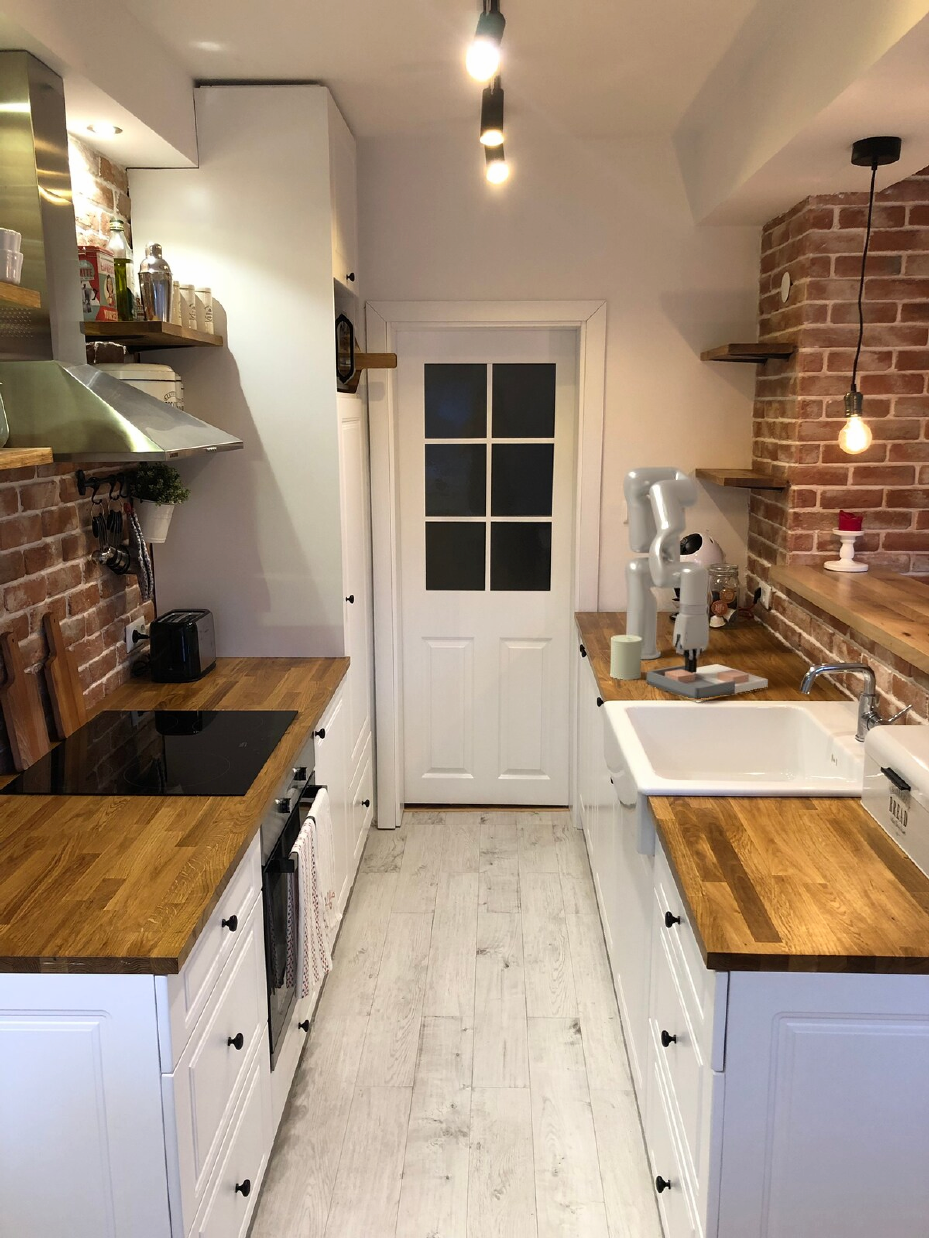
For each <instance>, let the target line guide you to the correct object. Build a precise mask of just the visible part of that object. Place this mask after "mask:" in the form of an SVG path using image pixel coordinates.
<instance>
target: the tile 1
mask: <svg viewBox="0 0 929 1238" xmlns="http://www.w3.org/2000/svg"><path fill="white" fill-rule="evenodd" d="M665 677H668V678H671V679H674V680H677V681H680V682H683V683H684V682H691V681H695V674H693V673H691V672H688V671H685V670H682V669H680V670H674V671H667V672H665Z"/></svg>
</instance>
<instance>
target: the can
mask: <svg viewBox="0 0 929 1238" xmlns="http://www.w3.org/2000/svg"><path fill="white" fill-rule="evenodd" d="M641 647H642V638H641V637H638V636H633V635H626V634H617V635H614V636H611V638H610V673H609V676H610V677H611V678H612V677H613V679H615V678H617V679H616V680H620V679H623V680H622V681H634V680H633V679H635V680H639V679H640V678H641V677H642V669H641V668H642V659H641ZM638 678H639V679H638Z"/></svg>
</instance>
